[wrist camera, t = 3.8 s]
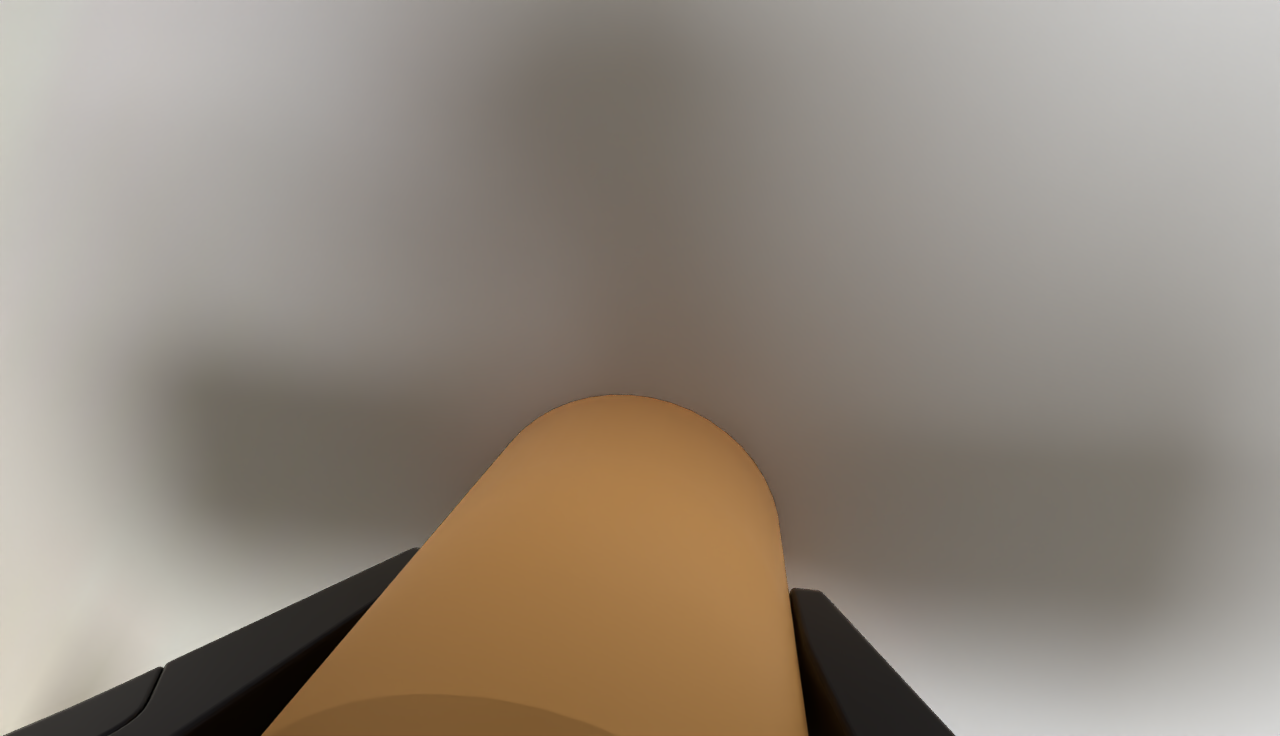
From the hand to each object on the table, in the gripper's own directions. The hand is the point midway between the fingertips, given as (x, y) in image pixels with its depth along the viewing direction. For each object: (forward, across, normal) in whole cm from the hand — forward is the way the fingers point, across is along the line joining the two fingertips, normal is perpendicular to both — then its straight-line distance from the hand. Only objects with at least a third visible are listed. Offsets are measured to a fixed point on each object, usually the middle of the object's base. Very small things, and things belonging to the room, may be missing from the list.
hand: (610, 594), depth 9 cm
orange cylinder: (+2, 0, 0) cm, 2 cm away
